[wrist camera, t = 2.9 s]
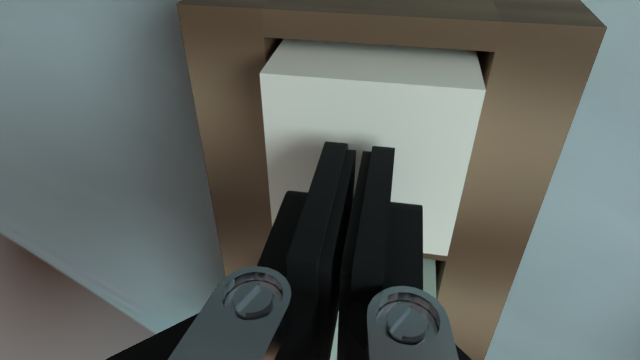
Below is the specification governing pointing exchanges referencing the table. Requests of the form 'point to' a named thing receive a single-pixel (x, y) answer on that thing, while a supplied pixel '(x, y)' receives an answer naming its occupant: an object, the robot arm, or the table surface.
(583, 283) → the table surface
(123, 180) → the table surface
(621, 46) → the table surface
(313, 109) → the button
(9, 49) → the table surface
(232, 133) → the brown wooden tray
